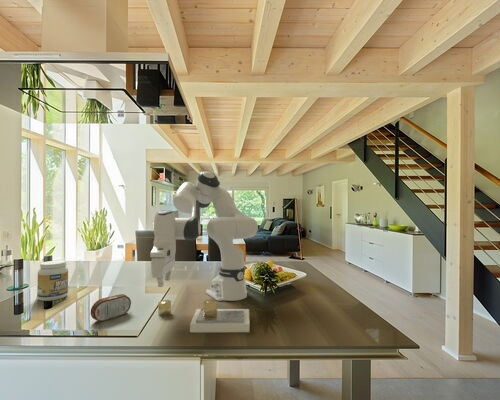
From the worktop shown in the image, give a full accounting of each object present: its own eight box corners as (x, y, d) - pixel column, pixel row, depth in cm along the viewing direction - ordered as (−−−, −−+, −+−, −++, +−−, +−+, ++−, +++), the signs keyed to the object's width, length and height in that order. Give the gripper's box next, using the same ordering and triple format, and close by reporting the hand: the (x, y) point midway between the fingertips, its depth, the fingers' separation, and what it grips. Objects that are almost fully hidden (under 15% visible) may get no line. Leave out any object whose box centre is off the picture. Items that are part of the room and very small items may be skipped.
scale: (190, 332, 100) (190, 321, 100) (196, 316, 114) (196, 306, 114) (249, 332, 100) (249, 320, 100) (248, 316, 114) (249, 306, 114)
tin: (128, 311, 119) (128, 291, 119) (132, 313, 117) (132, 292, 117) (90, 323, 108) (90, 300, 108) (93, 325, 106) (93, 302, 106)
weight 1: (156, 314, 117) (156, 301, 117) (167, 310, 120) (167, 299, 120) (161, 317, 113) (161, 305, 113) (173, 314, 116) (173, 302, 117)
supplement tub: (52, 302, 129) (52, 265, 130) (30, 300, 132) (30, 264, 132) (73, 294, 141) (74, 260, 142) (53, 292, 144) (53, 259, 144)
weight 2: (200, 315, 105) (200, 301, 105) (211, 311, 109) (210, 298, 109) (209, 318, 102) (209, 304, 102) (219, 314, 106) (219, 300, 106)
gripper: (164, 246, 128) (164, 277, 127) (148, 253, 107) (148, 290, 107) (178, 246, 128) (178, 277, 127) (165, 253, 107) (164, 290, 107)
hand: (164, 283), depth 117 cm, fingers open, 8 cm apart
